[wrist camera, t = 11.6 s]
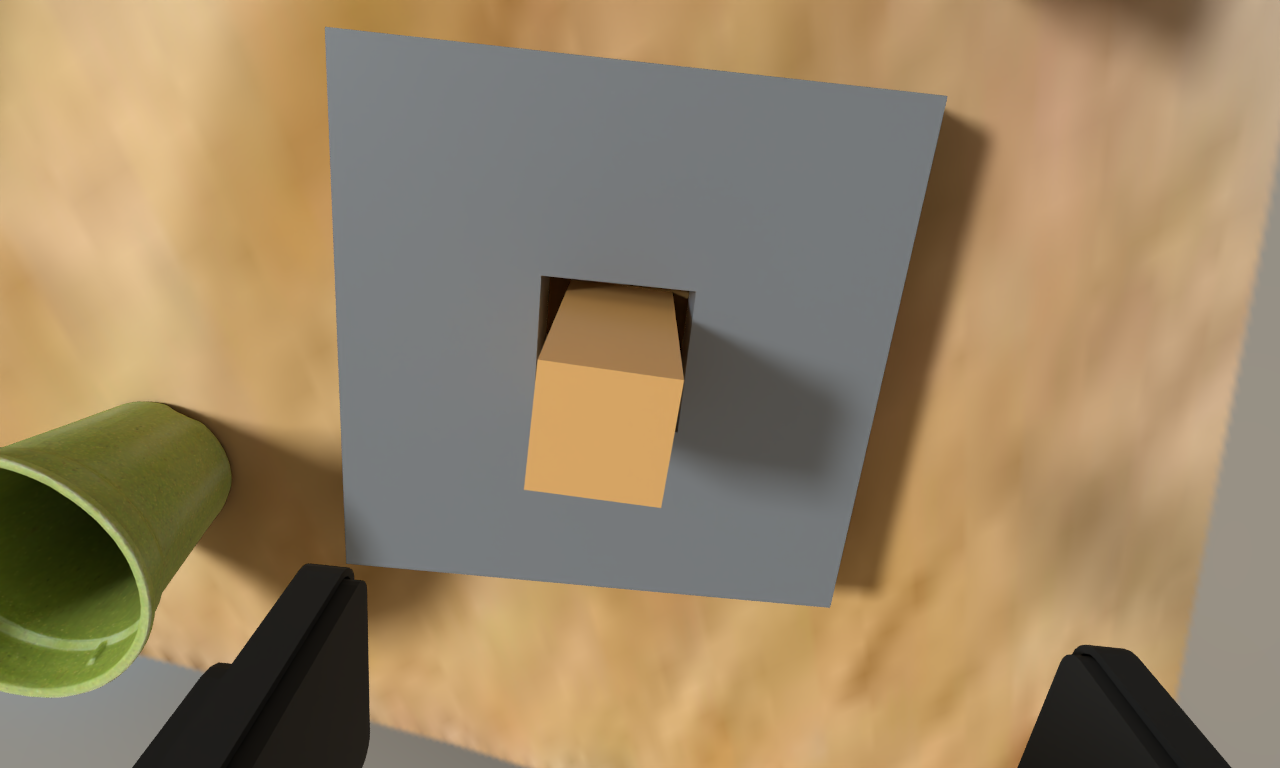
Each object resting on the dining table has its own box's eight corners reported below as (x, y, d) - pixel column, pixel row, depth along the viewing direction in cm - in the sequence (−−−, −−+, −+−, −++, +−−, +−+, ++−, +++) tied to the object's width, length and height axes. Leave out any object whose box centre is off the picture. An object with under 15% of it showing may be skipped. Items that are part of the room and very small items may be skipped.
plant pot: (121, 578, 35) (-37, 723, 27) (6, 396, 32) (-213, 497, 24) (307, 529, 34) (200, 664, 26) (207, 335, 31) (50, 420, 23)
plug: (572, 277, 30) (537, 359, 20) (672, 292, 30) (684, 380, 21) (560, 372, 31) (524, 489, 22) (656, 385, 31) (661, 508, 22)
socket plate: (358, 34, 27) (324, 26, 24) (916, 96, 27) (947, 96, 25) (371, 524, 34) (346, 563, 31) (814, 565, 34) (829, 607, 32)
